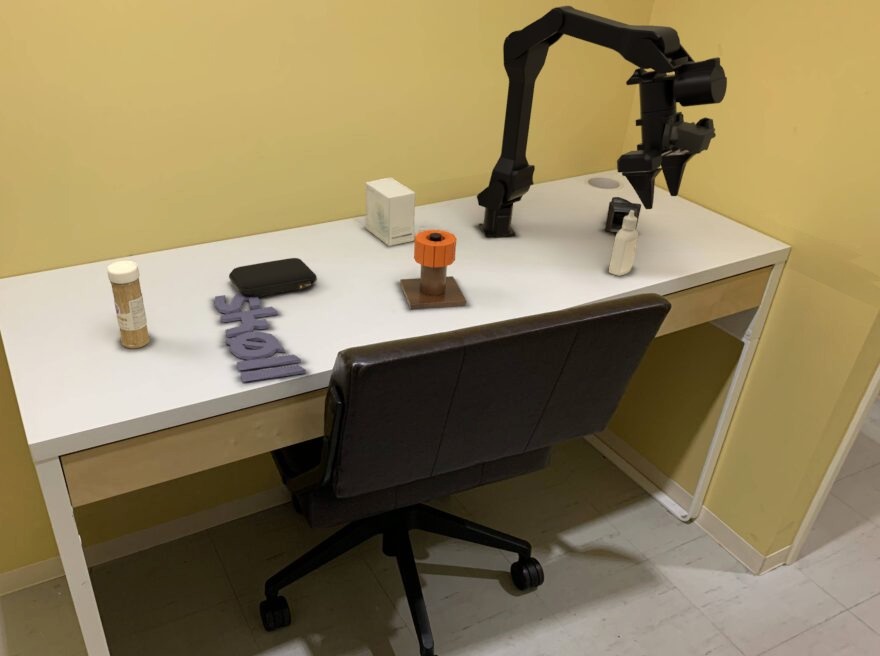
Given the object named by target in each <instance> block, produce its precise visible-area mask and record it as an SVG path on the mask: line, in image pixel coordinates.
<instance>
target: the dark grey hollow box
mask: <svg viewBox="0 0 880 656" xmlns="http://www.w3.org/2000/svg"><path fill="white" fill-rule="evenodd" d="M641 209H642V203H637V202H636V203H635V202H631V201H630V200H628V199H627V198H623V197H620V196H613V197H611V201H609V203H608V207H607V214H606V221H605V227H604V231H605V232H611V233H618V231H619V230H620V229H622V225H623V220H624V217H625V216H628V215H629V213H630V210H634V216H635V217H636V218H637V224H636V229H637V228H638V224H639V218H640V213H641Z"/></svg>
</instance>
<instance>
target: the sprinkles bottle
mask: <svg viewBox="0 0 880 656" xmlns="http://www.w3.org/2000/svg"><path fill="white" fill-rule="evenodd" d="M106 271H107V277H108V281H109V284H110V286H111V291H112V296H113V302H114V303H113V304H114V308H115V309H114V310H115V314H116V319H117V325H118V327H119V329H118V330H119V334H120V342H121V343H120V344H121V345H122V346H123V347H124V348H126V349H140V348H142V347H144V346H147V345H148V344H149V343H150V340H151V337H150V335H149V329H148V322H147V315H146V308H145V303H144V297H143V293H142V289H141V288H142V287H141V281H140V269H139V265H138V264H137V263H136V262H135V261H131V260H120V261H115V262H113V263H111V264H110V265H108V266H107V269H106Z"/></svg>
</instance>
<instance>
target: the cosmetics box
mask: <svg viewBox="0 0 880 656" xmlns="http://www.w3.org/2000/svg"><path fill="white" fill-rule="evenodd" d="M416 195H417V193H416V192H415V191H413V190H412V189H410V188H409V187H407V186H405V184H402V183H401V182H399V181H397V180H396V179H394V178H393V177H391V176H390V177H384V178H380V179H374V180H369V181H366V182H365V229H366V230H367V231H368V232H370V233H371V234H372V235H374V236H375V237H376V238H378V239H379V240H380V241H382V242H383V243H384V244H385V245H386V246H388V247H391V246H392V247H393V246H396V245H400V244H405V243H410V242H415V218H416V217H415V216H416V215H415V213H416V211H415V210H416Z"/></svg>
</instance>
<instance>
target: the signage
mask: <svg viewBox="0 0 880 656" xmlns="http://www.w3.org/2000/svg"><path fill="white" fill-rule="evenodd" d="M246 301H248V302H249V306H250V309H249V310H243V311H242V310H241V309H242V307H243V305H244V303H245V302H246ZM214 307H215V308H216V310H217V311H218V313H221V314H220V320H221V323H229V322H236V321H241V324H240V325H238V326H234V327H231V328H226V329H225V330H224V331H225V335H226V337H227V338H226V337H225V343H226V345H229V346H230V353H231V354H233V355H234V356H235V357H237V358H239V359H242V360H241V361H236V366H237V369H238V371H242V372H240V379H241V380H242V382H243V383H245V382H251V381H259V380H266V379H274V378H279V377H280V378H281V377H288V376H294V375H301V374H307V371H306V370H307V369H305V368H304V367H303V366H301V365H299V364H298V363H301V362H302V361H301V358H300V357H298V356H297V355H296V354H293V353H292V354H289V353H288V354H285V355H278V356H273V355H274V354H276V353H285V351H286V350H285V348H284V346H282V345H279V340H278V339H277V338H276V336H274V335H273V334H272V333H269V332H264V331H254V330H255V329H256V330H264V329H265V330H266V329H270V326H269V323H268V321H267V319H266V318H263V319H257V318H262V317H271V316H276V315H278V314H279V313H278V310H277V309H275V308H274V307H273V306H267V307H261V300H260V298H259V296H258V297H257V296H254V297H246V296H244V295H243V294H241V293H240V292H238V293H236V294H235V295H233V298H232V300H231V302H230V304H226V295H225V294H224V295H223V294H222V295H216V296H214ZM232 337H233V338H232ZM271 356H272V357H271ZM291 364H294V365H291ZM295 364H296V365H295ZM283 365H287V366H283ZM288 365H289V366H288ZM276 366H281V367H276ZM268 367H269V368H268ZM270 367H274V368H270ZM260 368H261V369H260ZM262 368H266V369H262ZM254 369H258V370H254ZM246 370H247V371H246ZM248 370H252V371H248ZM243 371H244V372H243Z"/></svg>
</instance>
